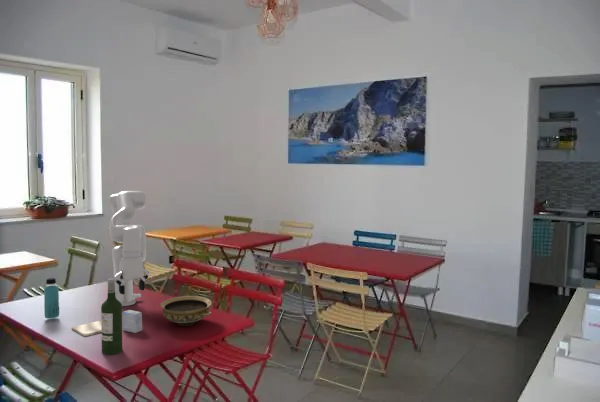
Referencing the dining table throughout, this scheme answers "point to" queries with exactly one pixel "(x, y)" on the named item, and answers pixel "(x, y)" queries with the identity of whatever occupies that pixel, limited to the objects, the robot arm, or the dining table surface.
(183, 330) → the dining table surface
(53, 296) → the beverage bottle
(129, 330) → the medicine box
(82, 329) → the birch board
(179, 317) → the ceramic bowl
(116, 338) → the wine bottle
